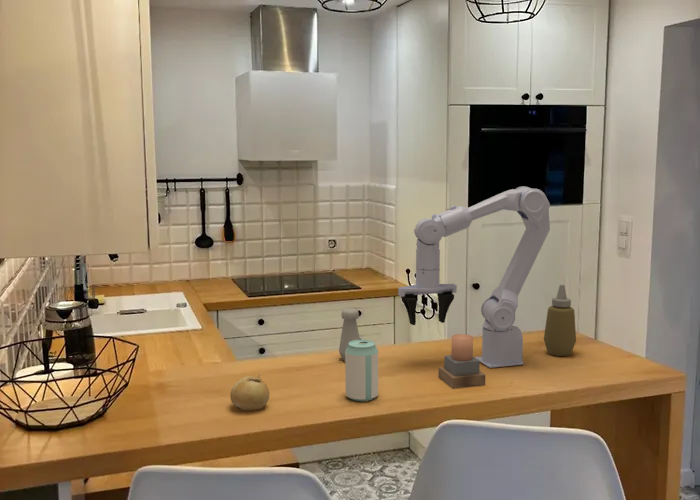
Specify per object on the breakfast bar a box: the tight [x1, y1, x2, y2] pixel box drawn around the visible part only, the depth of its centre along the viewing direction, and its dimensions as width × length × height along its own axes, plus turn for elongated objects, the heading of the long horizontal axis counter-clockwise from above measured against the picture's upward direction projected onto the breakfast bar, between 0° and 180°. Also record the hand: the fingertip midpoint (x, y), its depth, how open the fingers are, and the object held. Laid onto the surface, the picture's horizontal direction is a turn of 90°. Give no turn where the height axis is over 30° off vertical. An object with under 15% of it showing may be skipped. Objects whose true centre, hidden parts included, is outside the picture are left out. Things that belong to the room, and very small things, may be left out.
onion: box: [230, 373, 270, 412], centre depth 148 cm, size 8×8×7 cm
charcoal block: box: [443, 354, 481, 376], centre depth 163 cm, size 6×6×3 cm
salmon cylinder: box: [450, 333, 474, 361], centre depth 163 cm, size 5×5×5 cm
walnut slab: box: [437, 366, 487, 390], centre depth 164 cm, size 8×8×3 cm
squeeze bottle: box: [543, 284, 577, 357], centre depth 183 cm, size 8×8×18 cm
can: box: [344, 339, 379, 402], centre depth 153 cm, size 7×7×12 cm
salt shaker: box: [338, 307, 361, 362], centre depth 179 cm, size 6×6×13 cm
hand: (427, 322), depth 175 cm, fingers open, 7 cm apart
